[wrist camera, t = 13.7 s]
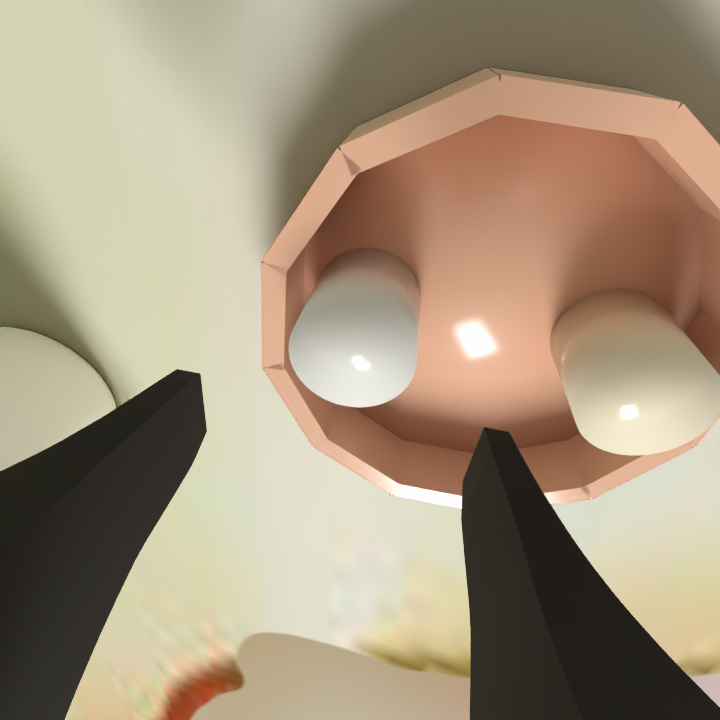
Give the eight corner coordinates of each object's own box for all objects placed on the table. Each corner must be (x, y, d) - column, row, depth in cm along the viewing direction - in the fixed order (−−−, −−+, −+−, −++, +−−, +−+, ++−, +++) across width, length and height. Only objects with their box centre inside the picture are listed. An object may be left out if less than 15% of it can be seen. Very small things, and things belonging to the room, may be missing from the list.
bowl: (839, 120, 13) (941, 142, 10) (598, 479, 22) (620, 539, 19) (293, 37, 13) (259, 37, 11) (282, 420, 22) (262, 470, 20)
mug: (210, 448, 25) (94, 659, 16) (131, 499, 28) (5, 691, 20) (1, 287, 20) (-304, 463, 12) (-58, 373, 24) (-319, 552, 16)
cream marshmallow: (692, 301, 16) (759, 371, 12) (633, 389, 18) (675, 466, 15) (578, 277, 16) (613, 340, 12) (533, 368, 18) (554, 440, 15)
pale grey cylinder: (432, 259, 16) (430, 314, 13) (409, 350, 18) (402, 417, 15) (320, 238, 16) (291, 288, 13) (312, 332, 18) (285, 394, 15)
